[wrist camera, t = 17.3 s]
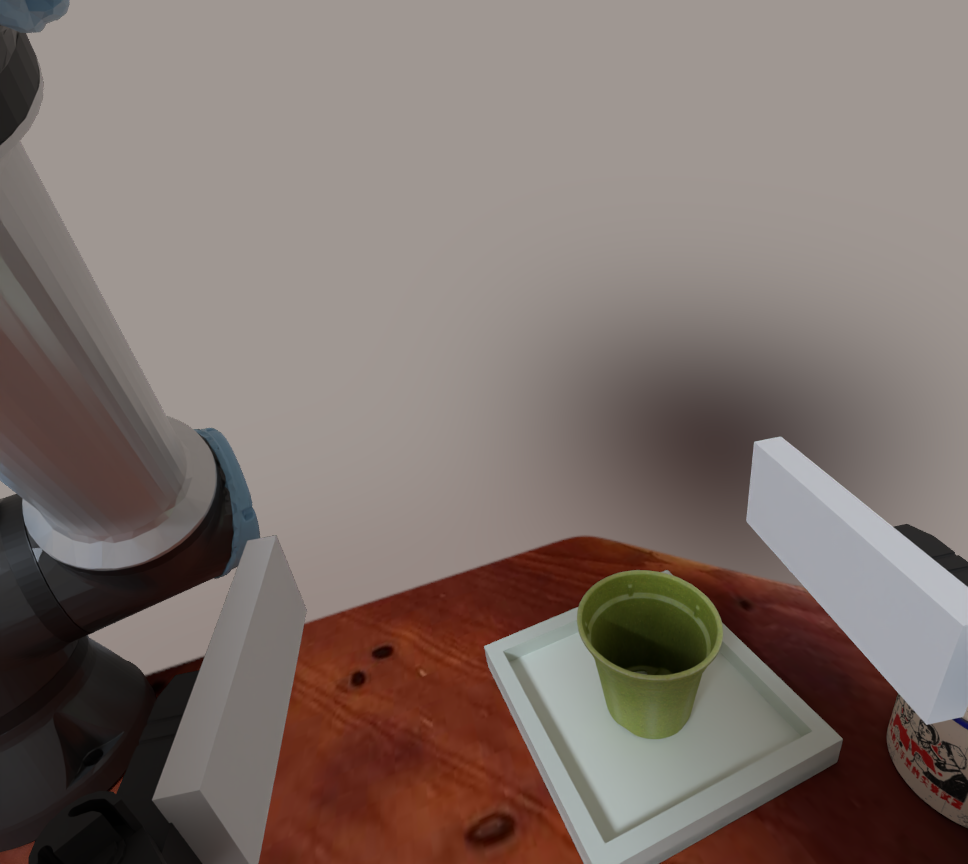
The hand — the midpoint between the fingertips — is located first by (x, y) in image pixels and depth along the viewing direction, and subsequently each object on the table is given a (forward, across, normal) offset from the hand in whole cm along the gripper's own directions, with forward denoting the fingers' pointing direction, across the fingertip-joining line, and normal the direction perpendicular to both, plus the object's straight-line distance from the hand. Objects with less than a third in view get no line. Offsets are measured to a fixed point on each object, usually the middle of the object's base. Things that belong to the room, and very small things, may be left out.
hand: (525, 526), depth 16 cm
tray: (+14, +8, -30) cm, 35 cm away
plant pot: (+14, +9, -30) cm, 34 cm away
